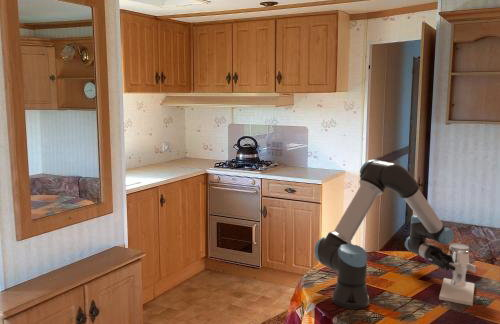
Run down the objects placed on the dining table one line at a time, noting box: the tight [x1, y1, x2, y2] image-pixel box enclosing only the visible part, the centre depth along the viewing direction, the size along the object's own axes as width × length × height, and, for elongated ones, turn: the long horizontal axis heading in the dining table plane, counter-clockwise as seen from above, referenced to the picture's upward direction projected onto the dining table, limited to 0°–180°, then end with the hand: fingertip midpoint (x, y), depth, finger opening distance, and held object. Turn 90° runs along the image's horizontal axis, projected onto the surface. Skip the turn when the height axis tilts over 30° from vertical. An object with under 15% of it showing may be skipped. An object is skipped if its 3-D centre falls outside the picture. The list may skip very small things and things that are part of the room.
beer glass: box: [450, 250, 470, 287], centre depth 207 cm, size 7×7×15 cm
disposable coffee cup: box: [448, 242, 471, 254], centre depth 235 cm, size 10×10×12 cm
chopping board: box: [438, 277, 475, 306], centre depth 209 cm, size 22×13×2 cm, turn 153°
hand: (468, 270), depth 202 cm, fingers closed on beer glass, 6 cm apart
